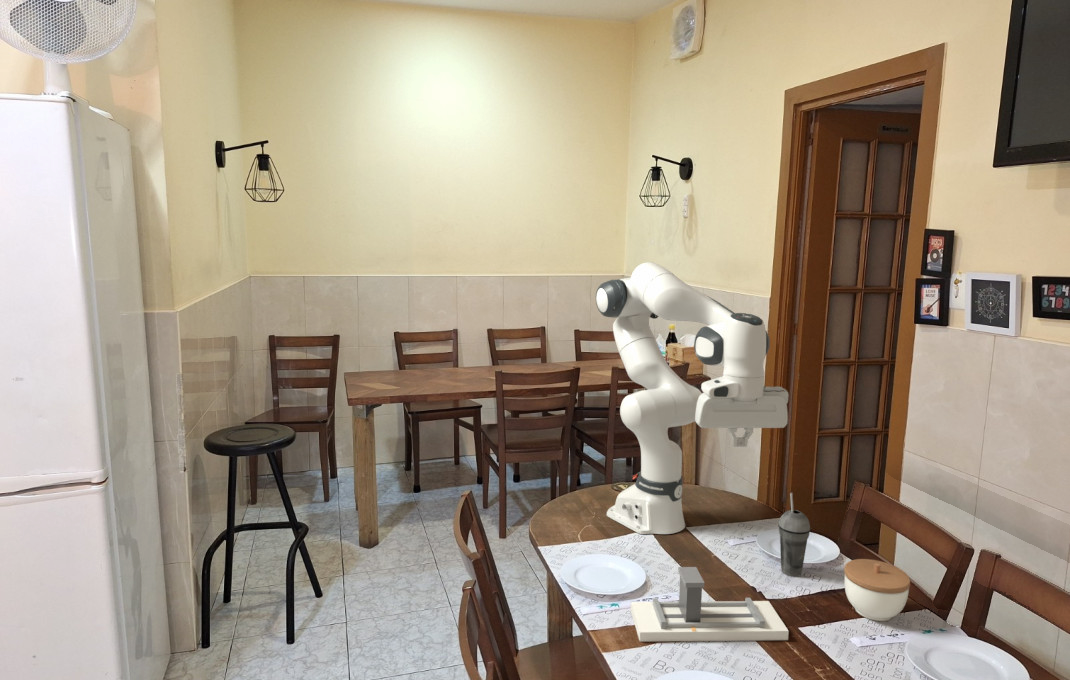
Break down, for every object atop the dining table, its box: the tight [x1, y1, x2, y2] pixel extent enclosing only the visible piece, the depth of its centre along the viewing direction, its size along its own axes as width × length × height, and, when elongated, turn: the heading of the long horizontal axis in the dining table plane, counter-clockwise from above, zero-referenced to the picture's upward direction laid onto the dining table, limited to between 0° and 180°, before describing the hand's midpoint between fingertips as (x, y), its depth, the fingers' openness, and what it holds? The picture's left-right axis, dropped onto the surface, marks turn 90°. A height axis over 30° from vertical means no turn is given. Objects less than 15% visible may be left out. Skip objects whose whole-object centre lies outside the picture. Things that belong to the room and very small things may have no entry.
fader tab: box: [677, 566, 705, 623], centre depth 138 cm, size 4×6×9 cm, turn 1°
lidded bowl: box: [843, 558, 911, 622], centre depth 143 cm, size 13×13×11 cm
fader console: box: [630, 597, 789, 643], centre depth 139 cm, size 30×11×4 cm, turn 91°
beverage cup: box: [777, 492, 812, 578], centre depth 159 cm, size 7×7×20 cm
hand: (739, 445), depth 151 cm, fingers closed
